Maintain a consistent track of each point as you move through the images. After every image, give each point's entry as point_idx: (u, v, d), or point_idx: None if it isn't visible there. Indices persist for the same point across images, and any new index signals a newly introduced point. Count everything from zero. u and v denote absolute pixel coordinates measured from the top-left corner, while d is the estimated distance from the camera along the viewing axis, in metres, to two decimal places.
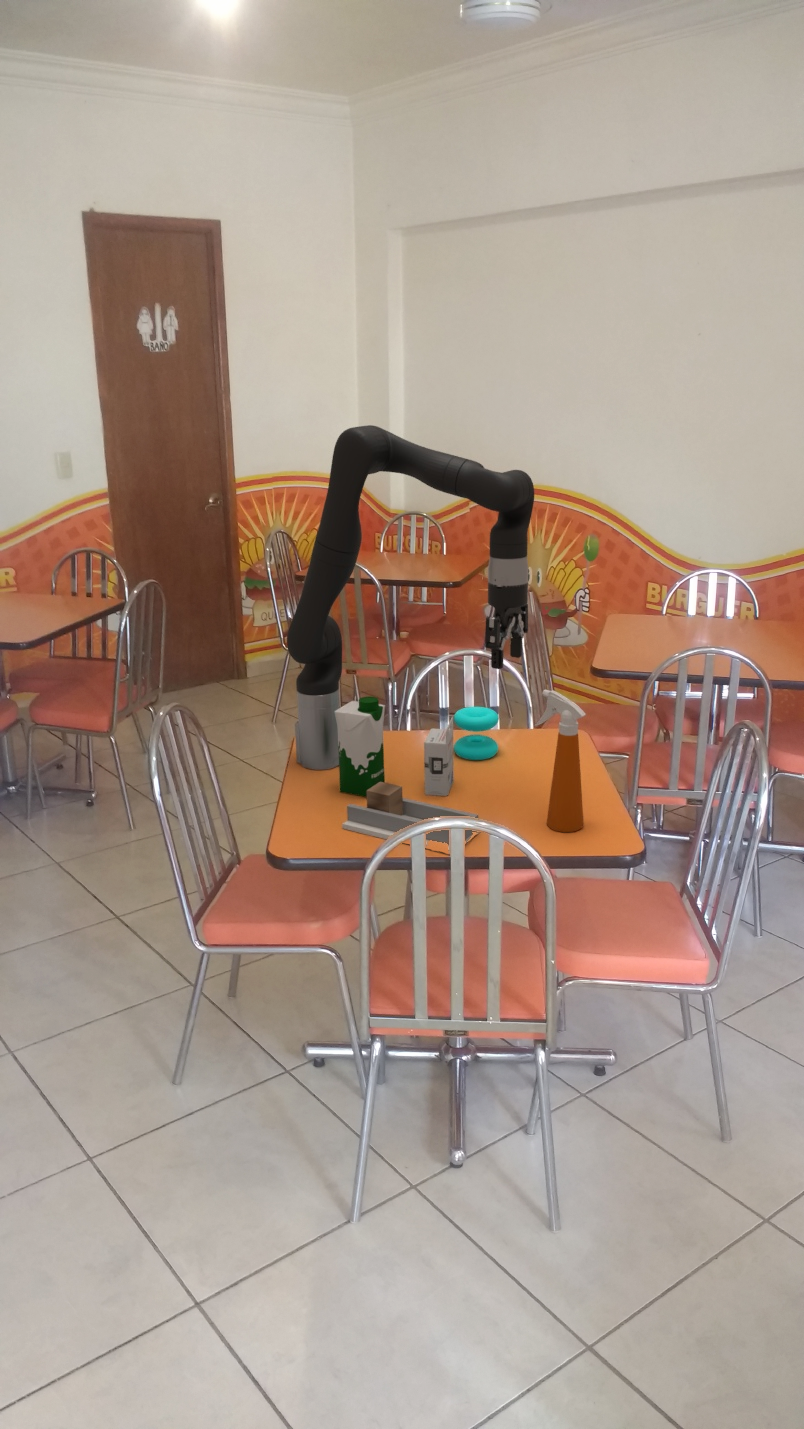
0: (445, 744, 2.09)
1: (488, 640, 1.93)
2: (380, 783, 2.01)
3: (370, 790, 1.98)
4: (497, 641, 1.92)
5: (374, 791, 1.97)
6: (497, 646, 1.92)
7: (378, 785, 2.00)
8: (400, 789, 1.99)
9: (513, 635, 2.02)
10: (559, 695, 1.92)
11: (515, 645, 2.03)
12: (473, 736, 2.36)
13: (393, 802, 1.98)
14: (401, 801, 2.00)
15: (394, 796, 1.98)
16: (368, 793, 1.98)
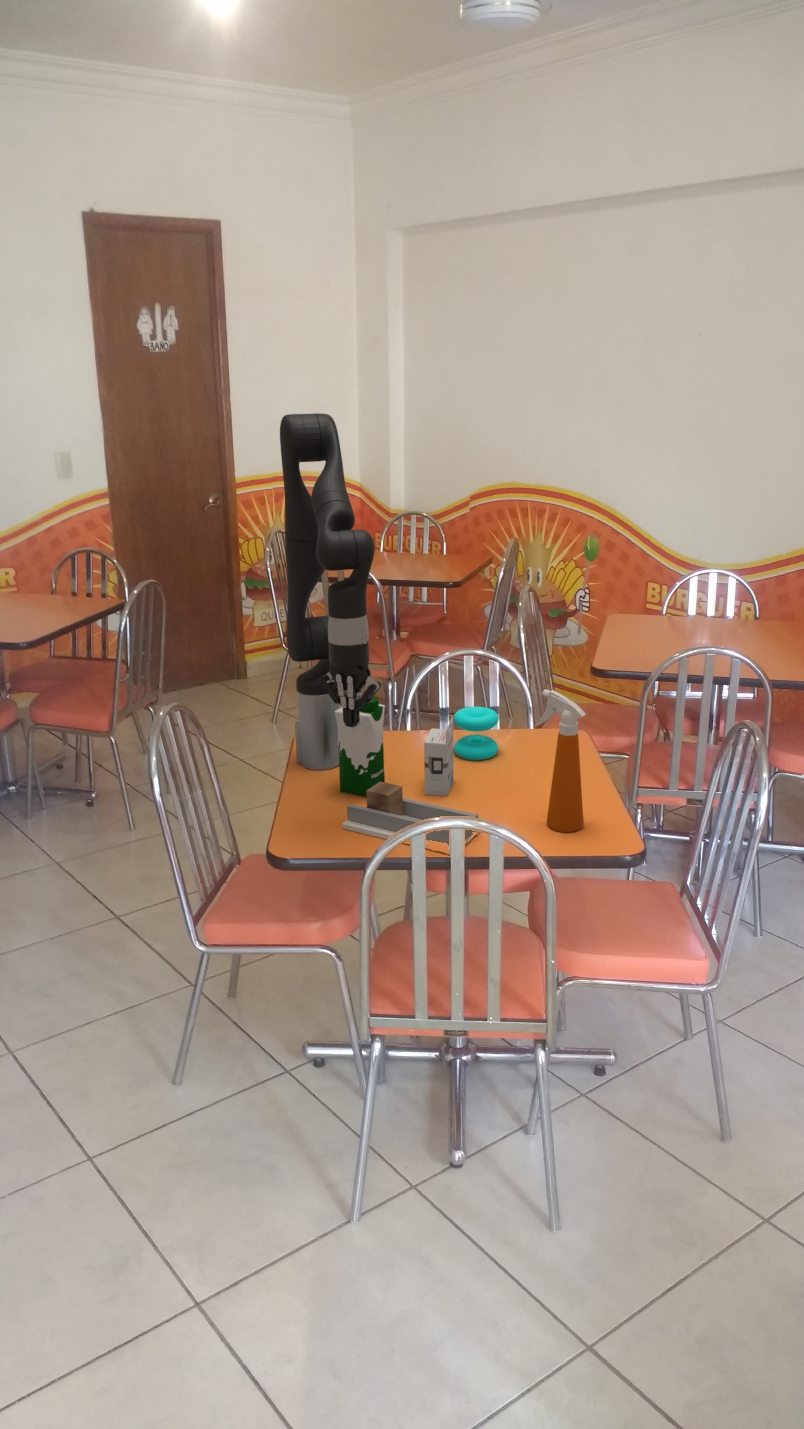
0: (445, 744, 2.09)
1: None
2: (380, 783, 2.01)
3: (370, 790, 1.98)
4: None
5: (374, 791, 1.97)
6: None
7: (378, 785, 2.00)
8: (400, 789, 1.99)
9: (347, 702, 1.97)
10: (559, 695, 1.92)
11: None
12: (473, 736, 2.36)
13: (393, 802, 1.98)
14: (401, 801, 2.00)
15: (394, 796, 1.98)
16: (368, 793, 1.98)
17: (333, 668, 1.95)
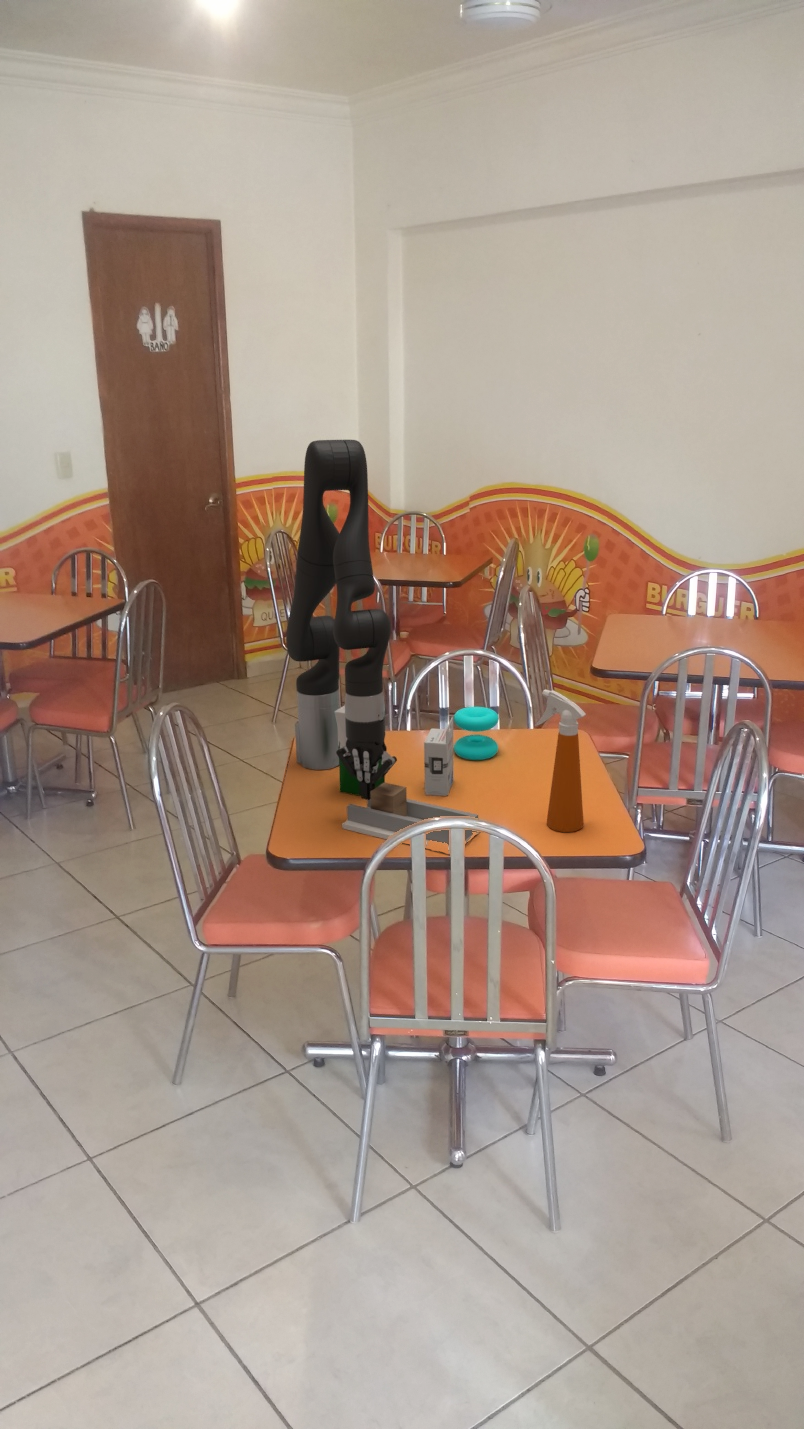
0: (445, 744, 2.09)
1: None
2: (384, 784, 2.01)
3: (374, 791, 1.98)
4: None
5: (378, 792, 1.97)
6: None
7: (382, 786, 2.00)
8: (404, 790, 1.99)
9: (363, 776, 2.00)
10: (559, 695, 1.92)
11: None
12: (473, 736, 2.36)
13: (397, 803, 1.97)
14: (405, 802, 2.00)
15: (398, 797, 1.97)
16: (372, 794, 1.98)
17: (349, 742, 1.98)
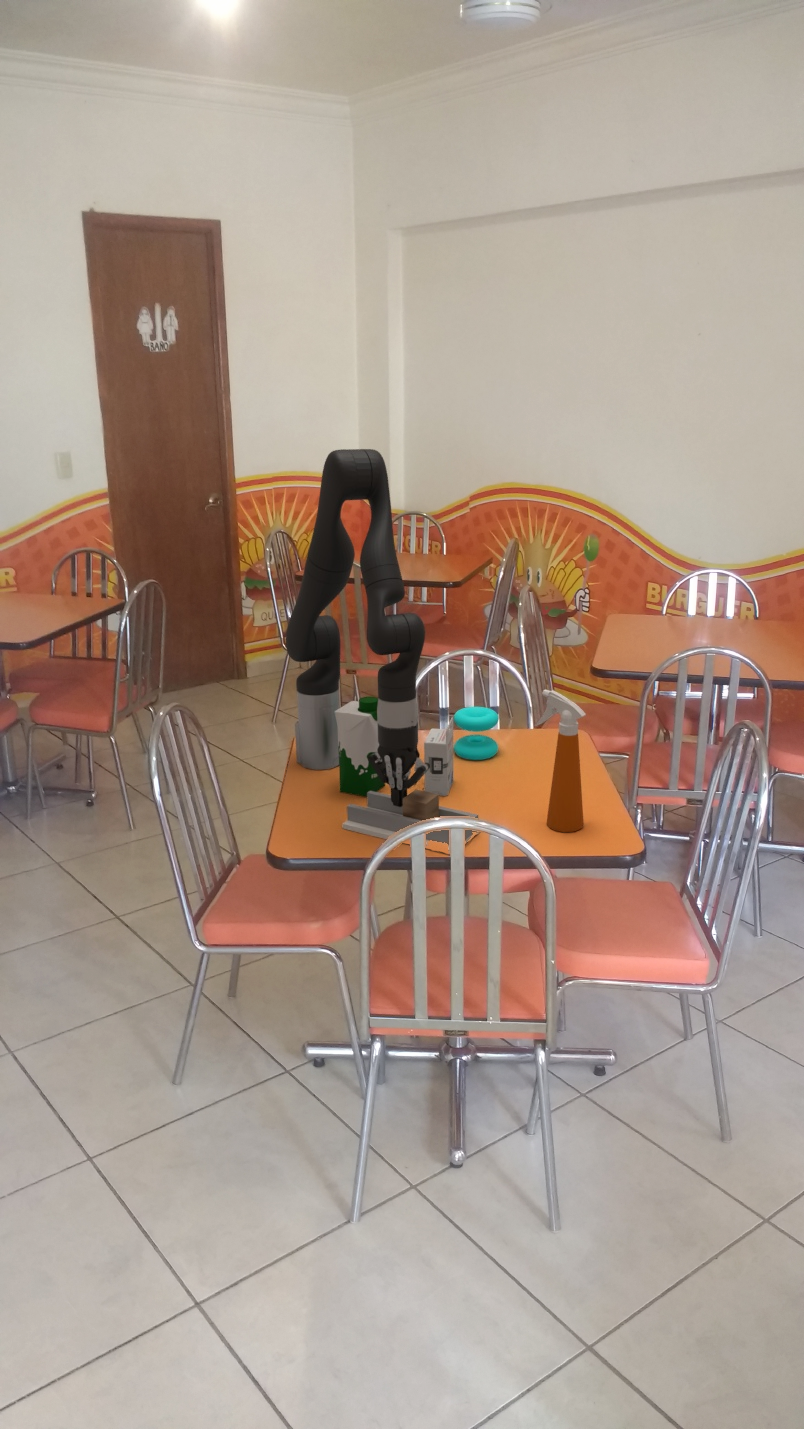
0: (445, 744, 2.09)
1: None
2: (416, 791, 1.97)
3: (406, 798, 1.94)
4: None
5: (410, 800, 1.94)
6: None
7: (414, 793, 1.97)
8: (437, 797, 1.95)
9: (395, 783, 1.96)
10: (559, 695, 1.92)
11: None
12: (473, 736, 2.36)
13: (429, 810, 1.94)
14: (437, 809, 1.97)
15: (431, 804, 1.94)
16: (404, 801, 1.94)
17: (381, 748, 1.95)
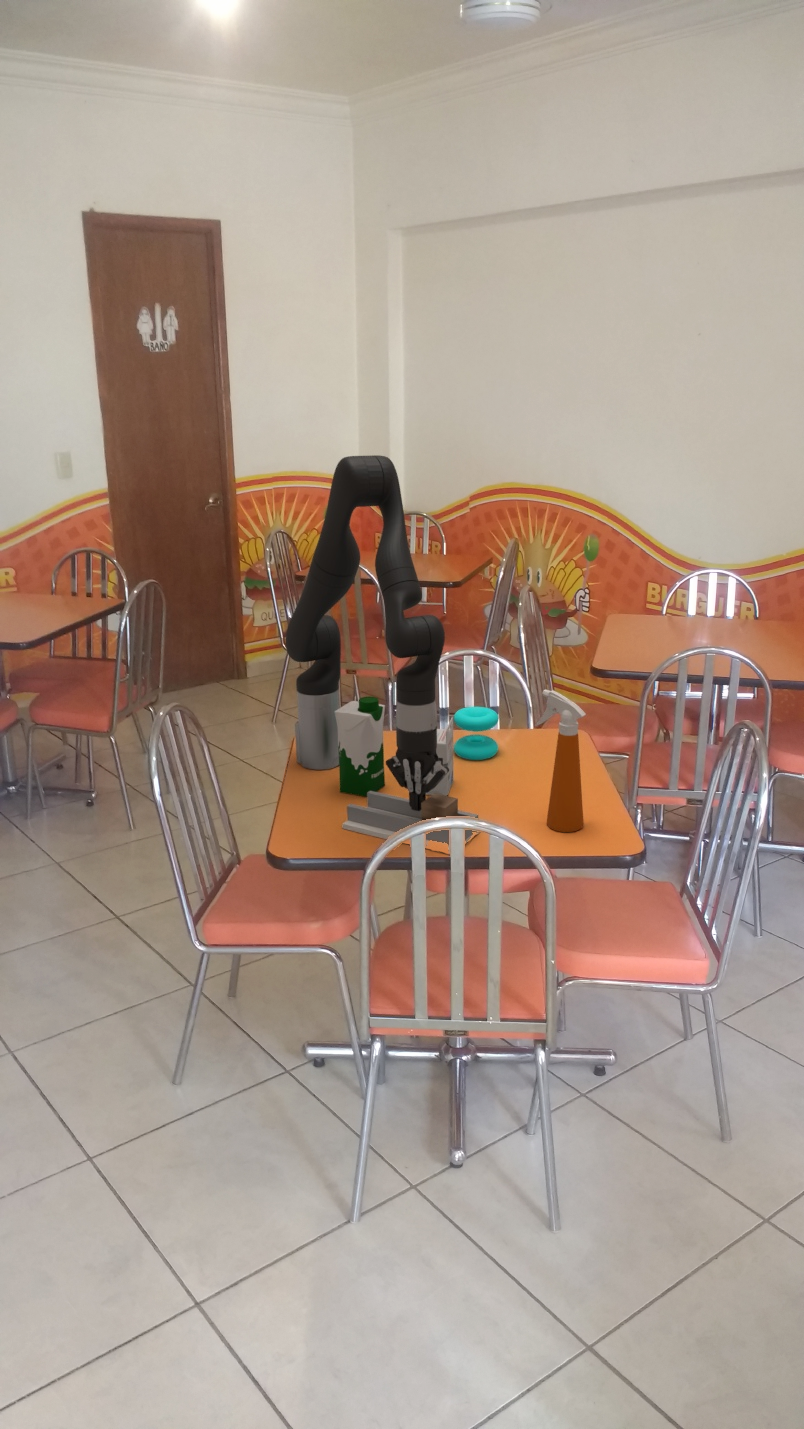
0: (445, 744, 2.09)
1: None
2: (434, 795, 1.95)
3: (425, 802, 1.92)
4: None
5: (429, 804, 1.92)
6: None
7: (433, 797, 1.95)
8: (456, 801, 1.93)
9: (414, 786, 1.94)
10: (559, 695, 1.92)
11: None
12: (473, 736, 2.36)
13: (448, 814, 1.92)
14: (456, 813, 1.95)
15: (450, 808, 1.92)
16: (423, 805, 1.92)
17: (400, 752, 1.93)
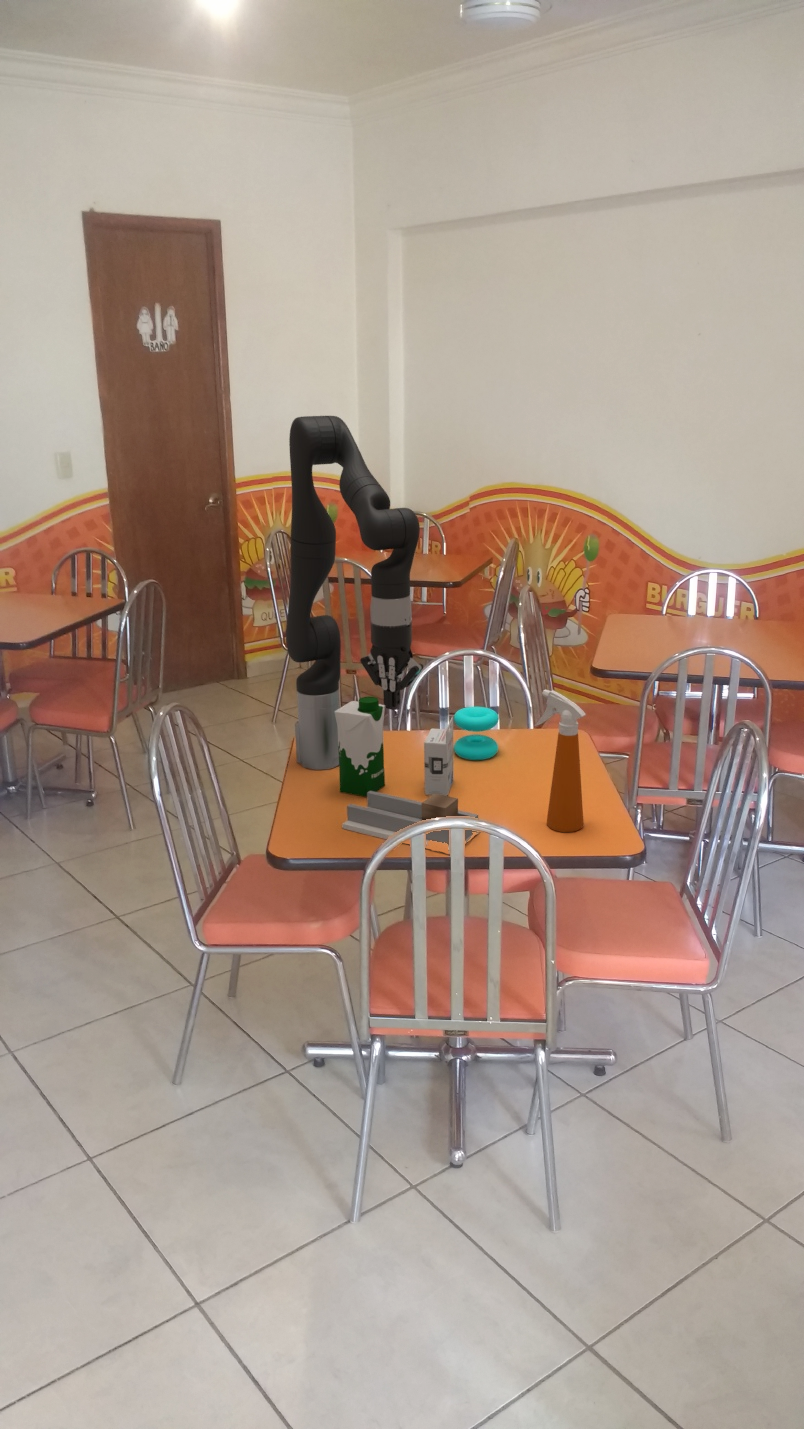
0: (445, 744, 2.09)
1: None
2: (435, 795, 1.95)
3: (425, 802, 1.92)
4: None
5: (430, 804, 1.92)
6: None
7: (433, 797, 1.95)
8: (456, 801, 1.93)
9: (388, 684, 1.94)
10: (559, 695, 1.92)
11: None
12: (473, 736, 2.36)
13: (449, 814, 1.92)
14: (456, 813, 1.95)
15: (450, 808, 1.92)
16: (423, 805, 1.92)
17: (374, 649, 1.92)
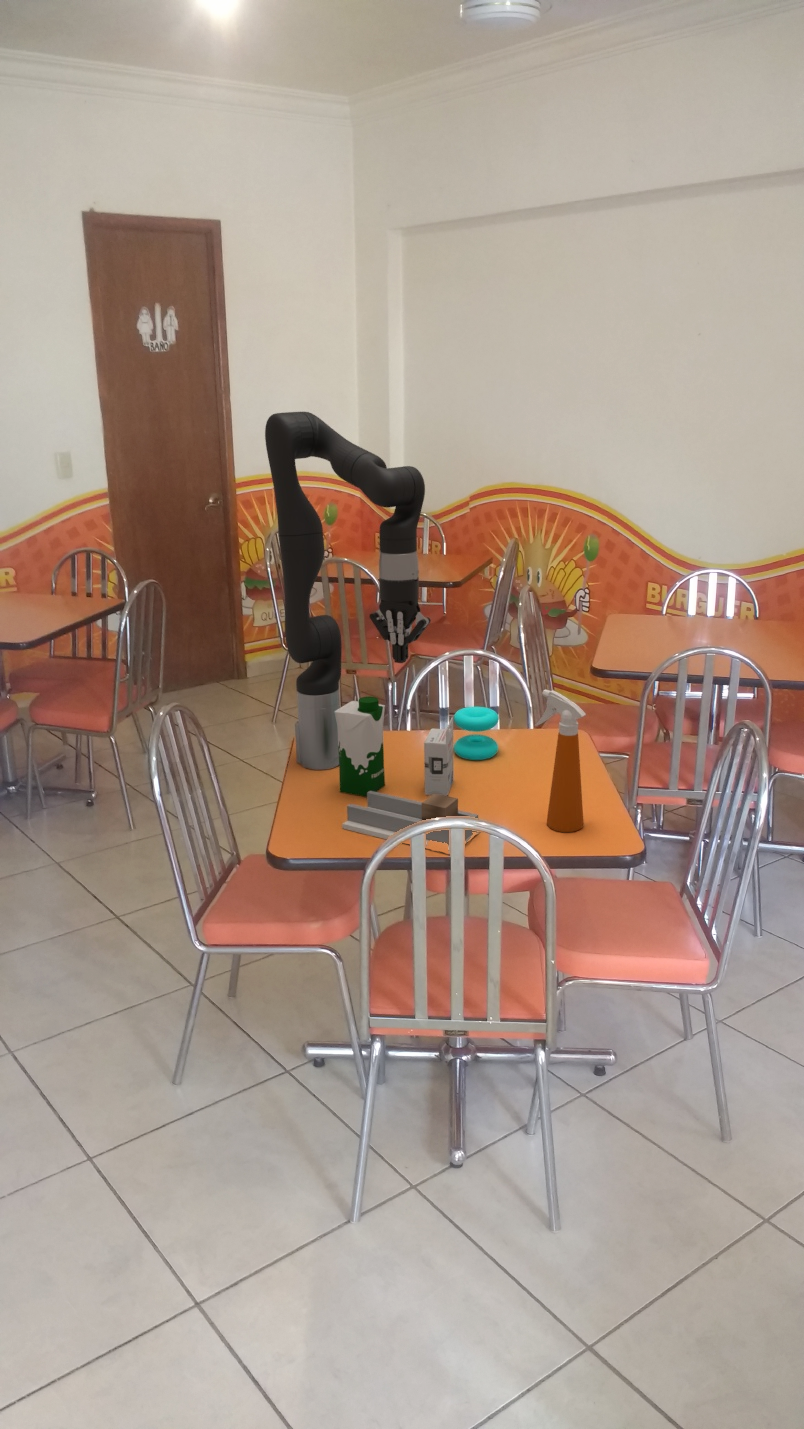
0: (445, 744, 2.09)
1: None
2: (435, 795, 1.95)
3: (425, 802, 1.92)
4: None
5: (430, 804, 1.92)
6: None
7: (433, 797, 1.95)
8: (456, 801, 1.93)
9: (397, 639, 2.01)
10: (559, 695, 1.92)
11: None
12: (473, 736, 2.36)
13: (449, 814, 1.92)
14: (456, 813, 1.95)
15: (450, 808, 1.92)
16: (423, 805, 1.92)
17: (383, 605, 2.00)
